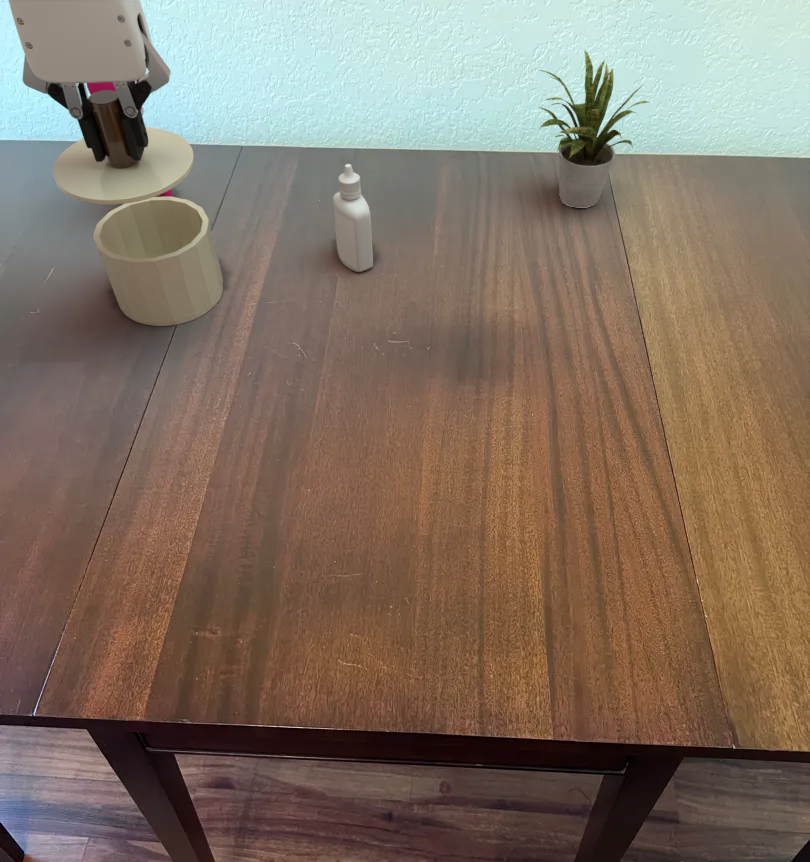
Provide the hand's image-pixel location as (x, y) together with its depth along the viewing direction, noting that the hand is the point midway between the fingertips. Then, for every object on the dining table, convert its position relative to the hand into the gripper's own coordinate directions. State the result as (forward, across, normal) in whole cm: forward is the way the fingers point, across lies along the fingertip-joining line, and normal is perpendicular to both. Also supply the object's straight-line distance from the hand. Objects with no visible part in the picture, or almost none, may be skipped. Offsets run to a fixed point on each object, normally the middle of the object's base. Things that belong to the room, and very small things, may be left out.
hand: (120, 152), depth 75 cm
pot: (+19, +1, -4) cm, 20 cm away
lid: (+1, 0, 0) cm, 1 cm away
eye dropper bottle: (+19, -21, -9) cm, 30 cm away
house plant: (+19, -50, -23) cm, 58 cm away
